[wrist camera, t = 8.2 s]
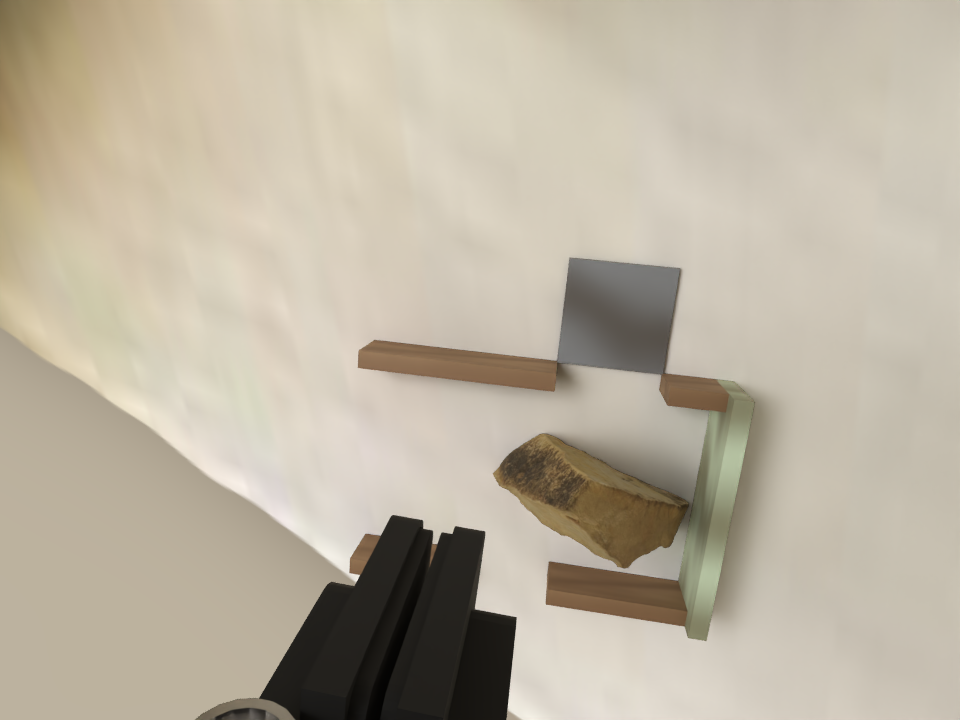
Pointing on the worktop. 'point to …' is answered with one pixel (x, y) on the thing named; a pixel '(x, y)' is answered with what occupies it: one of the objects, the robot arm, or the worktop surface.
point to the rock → (591, 500)
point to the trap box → (642, 348)
